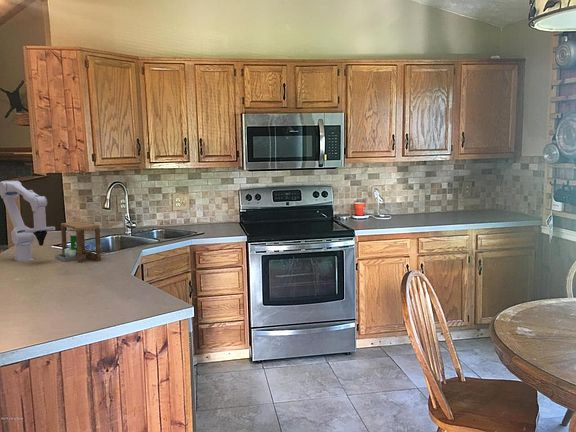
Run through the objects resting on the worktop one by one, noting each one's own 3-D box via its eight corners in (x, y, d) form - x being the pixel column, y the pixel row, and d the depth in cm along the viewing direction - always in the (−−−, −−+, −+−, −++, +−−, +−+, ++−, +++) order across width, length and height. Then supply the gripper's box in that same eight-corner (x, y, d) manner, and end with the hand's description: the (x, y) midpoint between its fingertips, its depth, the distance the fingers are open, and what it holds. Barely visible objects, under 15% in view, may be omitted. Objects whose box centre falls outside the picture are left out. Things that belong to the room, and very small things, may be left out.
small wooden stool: (62, 257, 285) (60, 223, 282) (83, 254, 293) (82, 221, 291) (79, 263, 269) (77, 227, 267) (100, 260, 278) (99, 225, 275)
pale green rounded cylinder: (63, 257, 281) (63, 248, 280) (70, 256, 283) (69, 248, 283) (66, 258, 278) (66, 249, 278) (73, 257, 281) (72, 248, 280)
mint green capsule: (67, 259, 277) (67, 250, 276) (74, 258, 279) (74, 249, 279) (70, 260, 274) (70, 251, 274) (77, 259, 277) (76, 250, 276)
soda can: (70, 253, 294) (69, 233, 293) (72, 251, 301) (71, 231, 300) (84, 253, 296) (83, 232, 295) (85, 250, 303) (84, 230, 302)
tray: (55, 259, 279) (55, 254, 279) (77, 256, 287) (77, 251, 287) (64, 263, 271) (63, 258, 270) (86, 259, 279) (86, 255, 279)
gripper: (27, 221, 258) (29, 248, 260) (57, 219, 268) (58, 244, 270) (22, 220, 263) (24, 246, 264) (51, 217, 273) (52, 242, 275)
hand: (41, 245), depth 268 cm, fingers closed
